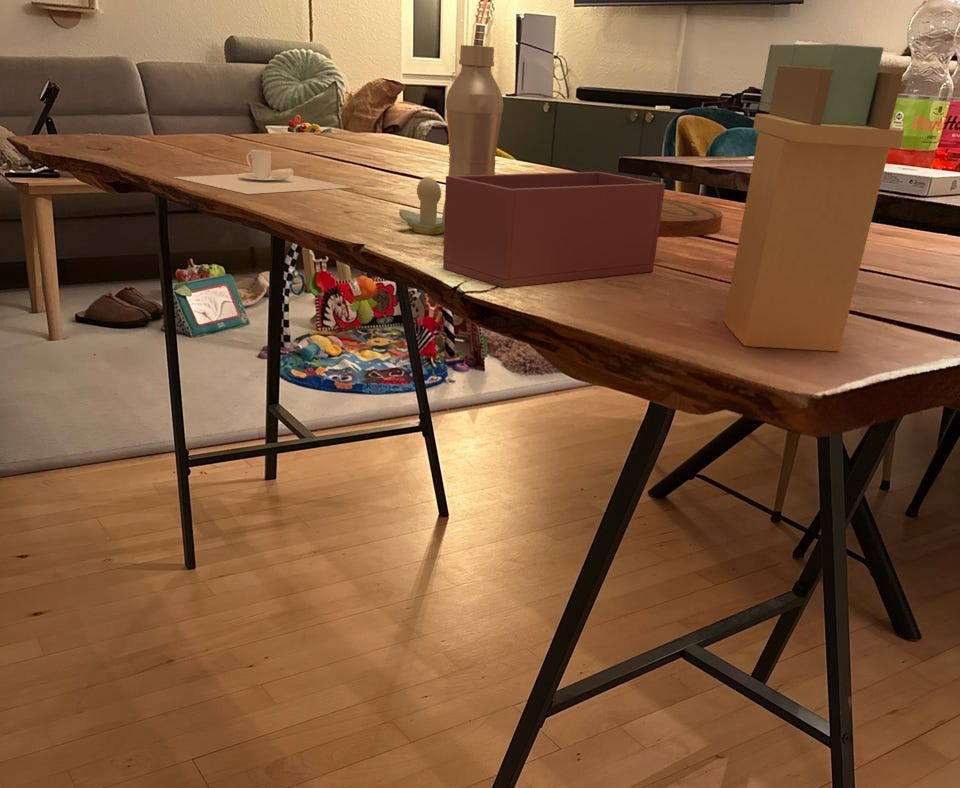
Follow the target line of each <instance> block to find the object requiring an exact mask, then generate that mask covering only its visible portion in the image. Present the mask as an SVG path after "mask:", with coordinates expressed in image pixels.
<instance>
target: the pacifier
mask: <svg viewBox="0 0 960 788" xmlns="http://www.w3.org/2000/svg"><path fill="white" fill-rule="evenodd" d="M416 195H417V198H418V200H419V201H420V202H419V213H416V212H414V211H411V210H406V209H403V208H402V209H399V211H398V214H399V217H400V219H402V220H403V221H405V222H406V223H407V226H408V228H410V229H411V228H412V229H413V231H414V232H415V233H417V234H423V235H441V234H444V230H443V221H442V217H437V216H438V203H439V202H440V200H441V198H442V189H441V186H440V184H439V183H438V182H437V181H436V179H434V178H432V177H423V178H421V179H420V181H419V182H418V184H417V187H416Z"/></svg>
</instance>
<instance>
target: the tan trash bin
mask: <svg viewBox="0 0 960 788" xmlns="http://www.w3.org/2000/svg"><path fill="white" fill-rule="evenodd" d="M832 73H833V69H830V68H814V67H797V66H781V65H779V66H778V69H777V74H776V80H775V85H774V90H773V96H772V101H771V106H770V112H768V114H767V113H756V114H755V117H754V122H753V127H752V130H753V131H755V132H758V134H757V140H756V145H755V150H754V155H753V161H752V166H751V172H750V178H749V182H748V188H747V194H746V199H745V204H744V210H743V215H742V221H741V226H740V233H739V237H738V242H737V243H738V244H737V249H736V254H735V259H734V264H733V270H732V275H731V281H730V287H729V292H728V297H727V301H726V302H727V303H726V308H725V314H724V320H723V324H724V325H725V326H726V327H727V328H728V330H730V331H731V333H732V334H733V335H734V336H735V338H736V339H737V340H738V341H739V342H740V343H741V344H742V346H743V347H748V348H749V347H750V348H751V347H752V348H753V347H754V348H768V349H786V350H787V349H788V350H804V351H805V350H806V351H821V352H840V351H841V350H840V349H841V345H842V341H843V337H844V333H845V329H846V325H847V321H848V317H849V313H850V309H851V306H852V301H853V297H854V294H855V293H854V292H855V289H856V285H857V281H858V277H859V273H860V269H861V265H862V260H863V256H864V252H865V249H866V245H867V241H868V236H869V233H870V229H871V224H872V221H873V217H874V212H875V208H876V204H877V201H878V197H879V193H880V188H881V184H882V180H883V176H884V172H885V168H886V164H887V160H888V155H889V152H890V149H900V148H901V146H902V142H903V138H904V133H905V130H904V129H901V128H897V127H896V128H895V127H891V125H892V121H893V118H894V113H895V108H896V105H897V101H898V97H899V94H900V93H899V92H900V88H901V85H902V80H903V76H904V73H903V72H890V71H878V74H877V78H876V83H875V87H874V91H873V95H872V100H871V104H870V108H869V113H868V117H867V121H866V125H865V126H853V125H837V124H822V120H823V115H824V110H825V106H826V101H827V96H828V91H829V87H830V82H831V77H832Z"/></svg>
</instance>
